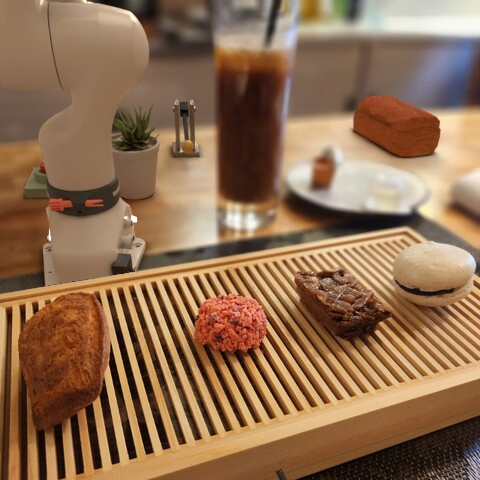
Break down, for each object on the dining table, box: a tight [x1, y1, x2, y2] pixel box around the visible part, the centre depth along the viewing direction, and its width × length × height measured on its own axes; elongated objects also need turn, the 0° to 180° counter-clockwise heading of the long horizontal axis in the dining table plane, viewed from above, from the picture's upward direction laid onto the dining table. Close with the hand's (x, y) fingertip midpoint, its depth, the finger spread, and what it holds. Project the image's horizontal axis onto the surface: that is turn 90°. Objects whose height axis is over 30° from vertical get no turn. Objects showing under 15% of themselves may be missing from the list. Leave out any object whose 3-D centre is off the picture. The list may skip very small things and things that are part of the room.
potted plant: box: [112, 102, 161, 200], centre depth 101 cm, size 13×14×20 cm
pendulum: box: [171, 99, 200, 158], centre depth 124 cm, size 8×7×13 cm
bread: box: [352, 94, 442, 158], centre depth 138 cm, size 16×27×11 cm, turn 22°
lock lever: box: [178, 101, 194, 154], centre depth 119 cm, size 16×3×3 cm, turn 8°
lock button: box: [38, 161, 46, 174], centre depth 105 cm, size 4×4×2 cm
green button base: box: [23, 165, 48, 199], centre depth 107 cm, size 12×10×4 cm
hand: (114, 82), depth 107 cm, fingers closed
